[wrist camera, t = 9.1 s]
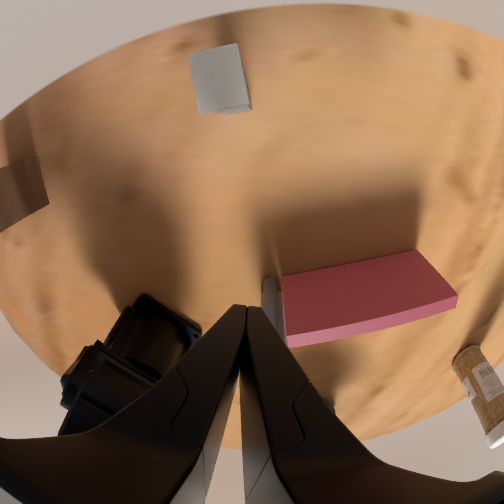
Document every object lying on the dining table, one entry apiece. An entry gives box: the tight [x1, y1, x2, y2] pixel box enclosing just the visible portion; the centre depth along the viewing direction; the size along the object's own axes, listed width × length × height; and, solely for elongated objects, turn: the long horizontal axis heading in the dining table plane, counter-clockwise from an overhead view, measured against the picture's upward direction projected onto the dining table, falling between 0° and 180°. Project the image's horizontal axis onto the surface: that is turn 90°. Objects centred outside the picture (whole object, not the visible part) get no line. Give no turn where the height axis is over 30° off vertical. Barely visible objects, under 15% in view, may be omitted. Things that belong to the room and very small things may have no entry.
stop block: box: [0, 156, 49, 233], centre depth 16 cm, size 4×4×7 cm
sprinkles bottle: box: [452, 345, 504, 448], centre depth 19 cm, size 5×5×14 cm
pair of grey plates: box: [188, 43, 288, 347], centre depth 16 cm, size 20×2×7 cm, turn 10°
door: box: [282, 249, 458, 348], centre depth 18 cm, size 11×2×6 cm, turn 103°
